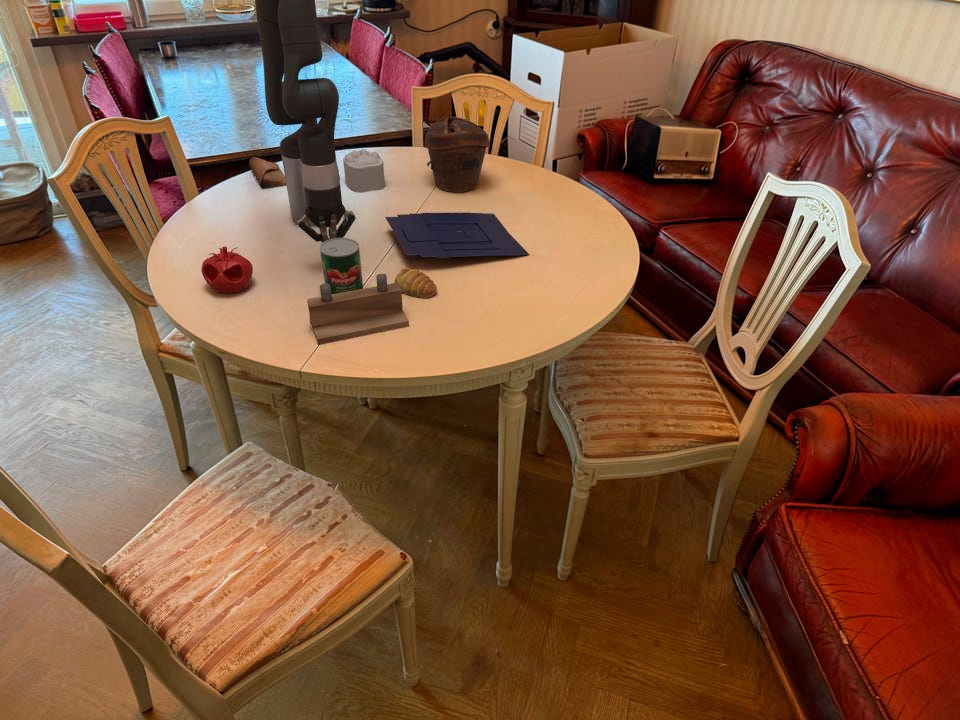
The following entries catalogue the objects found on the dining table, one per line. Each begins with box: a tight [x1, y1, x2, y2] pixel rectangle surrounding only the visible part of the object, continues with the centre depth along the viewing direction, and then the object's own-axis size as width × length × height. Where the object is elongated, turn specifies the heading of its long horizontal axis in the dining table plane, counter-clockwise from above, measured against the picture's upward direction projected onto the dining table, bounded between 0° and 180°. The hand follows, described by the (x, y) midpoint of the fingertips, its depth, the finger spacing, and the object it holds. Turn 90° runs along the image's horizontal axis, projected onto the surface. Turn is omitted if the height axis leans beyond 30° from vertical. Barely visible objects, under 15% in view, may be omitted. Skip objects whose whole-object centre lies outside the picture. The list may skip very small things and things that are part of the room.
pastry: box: [393, 267, 438, 299], centre depth 133 cm, size 9×7×4 cm
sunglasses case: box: [248, 156, 287, 190], centre depth 180 cm, size 18×7×7 cm
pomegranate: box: [200, 246, 254, 294], centre depth 130 cm, size 10×10×9 cm
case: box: [424, 116, 491, 193], centre depth 176 cm, size 18×20×18 cm
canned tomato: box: [319, 237, 364, 295], centre depth 129 cm, size 8×8×11 cm
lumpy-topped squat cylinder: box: [343, 148, 386, 193], centre depth 177 cm, size 10×13×9 cm
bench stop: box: [306, 273, 410, 345], centre depth 121 cm, size 8×18×9 cm, turn 113°
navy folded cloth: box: [384, 211, 530, 259], centre depth 152 cm, size 24×30×4 cm
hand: (331, 255), depth 140 cm, fingers closed
